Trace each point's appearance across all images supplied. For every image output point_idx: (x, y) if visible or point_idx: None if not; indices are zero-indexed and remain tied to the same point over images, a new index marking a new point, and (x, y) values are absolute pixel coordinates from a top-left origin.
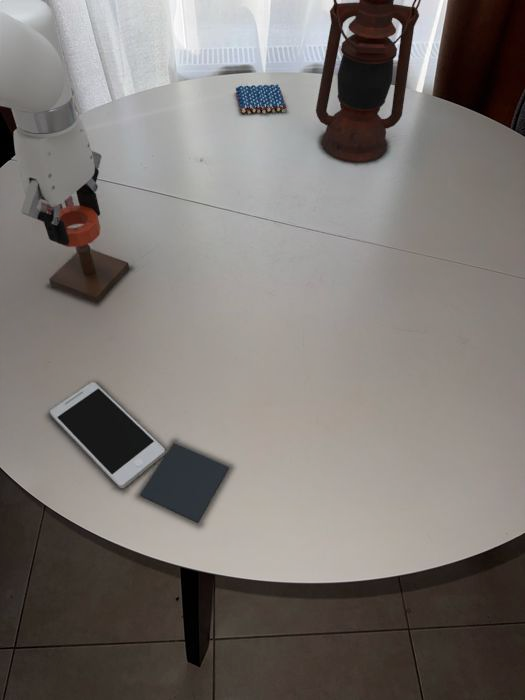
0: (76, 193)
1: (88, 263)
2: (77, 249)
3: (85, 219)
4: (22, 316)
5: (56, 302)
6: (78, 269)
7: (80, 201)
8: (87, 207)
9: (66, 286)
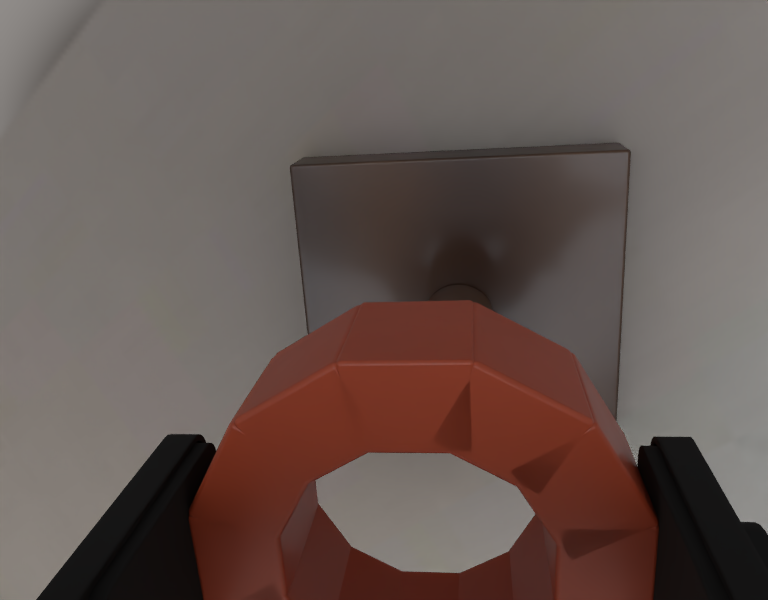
0: (709, 594)
1: None
2: None
3: (546, 540)
4: (77, 177)
5: (234, 258)
6: (437, 260)
7: (671, 550)
8: (649, 584)
9: (302, 283)
